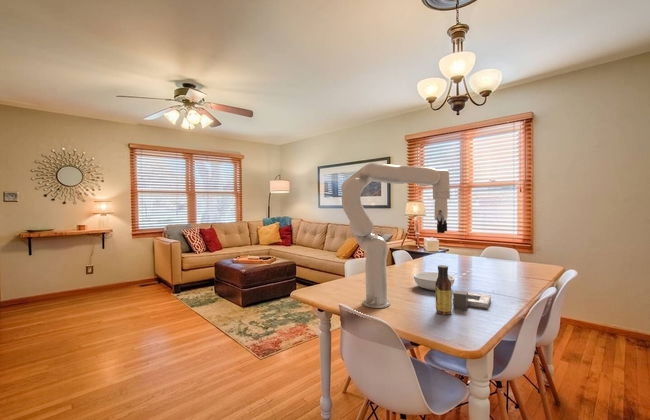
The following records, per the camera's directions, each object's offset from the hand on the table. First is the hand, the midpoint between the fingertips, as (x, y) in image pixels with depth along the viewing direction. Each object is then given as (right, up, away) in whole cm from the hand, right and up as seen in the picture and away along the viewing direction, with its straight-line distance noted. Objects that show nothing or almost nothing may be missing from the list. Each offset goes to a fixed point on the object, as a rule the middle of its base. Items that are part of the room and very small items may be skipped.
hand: (442, 232), depth 146 cm
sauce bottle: (-6, -33, -18) cm, 38 cm away
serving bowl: (+3, -32, +20) cm, 38 cm away
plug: (+3, -33, -12) cm, 35 cm away
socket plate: (+12, -32, -5) cm, 35 cm away
